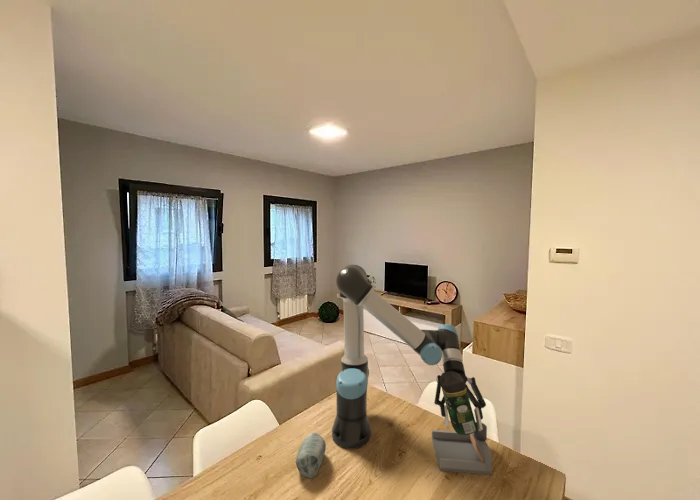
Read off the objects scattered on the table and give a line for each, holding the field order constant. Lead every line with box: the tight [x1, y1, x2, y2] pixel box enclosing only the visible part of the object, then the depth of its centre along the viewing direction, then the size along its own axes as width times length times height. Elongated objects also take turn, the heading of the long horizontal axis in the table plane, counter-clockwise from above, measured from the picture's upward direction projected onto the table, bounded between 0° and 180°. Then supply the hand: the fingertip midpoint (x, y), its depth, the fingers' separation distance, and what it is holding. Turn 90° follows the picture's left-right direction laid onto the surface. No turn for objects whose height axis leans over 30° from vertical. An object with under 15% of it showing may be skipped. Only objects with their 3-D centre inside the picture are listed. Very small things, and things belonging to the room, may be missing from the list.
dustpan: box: [431, 421, 493, 476], centre depth 98 cm, size 17×15×11 cm
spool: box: [295, 432, 327, 479], centre depth 94 cm, size 14×10×10 cm
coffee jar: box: [440, 371, 477, 435], centre depth 98 cm, size 10×8×19 cm
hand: (464, 428), depth 95 cm, fingers open, 10 cm apart
